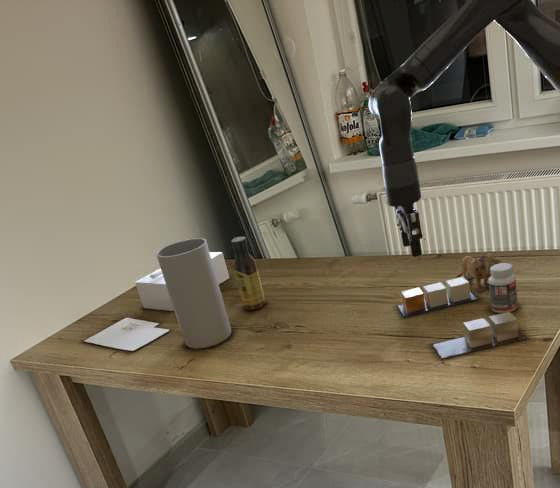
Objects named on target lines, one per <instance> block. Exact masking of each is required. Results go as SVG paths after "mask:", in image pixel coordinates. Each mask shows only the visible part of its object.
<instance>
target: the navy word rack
mask: <svg viewBox="0 0 560 488" xmlns="http://www.w3.org/2000/svg"><path fill="white" fill-rule="evenodd" d="M422 288H423V294H424V300H425V307H426V309H424V310H419V311H415V312H411V313H407V311H406V310H405V308H404V307H403V304H400V305H397V308H398V310H399V311H400V312H401V314H402V316H403V317H404V318H408V317H413V316H416V315H420V314H425V313H430V312H433V311H439V310H442V309H446V308H449V307H455V306H459V305H462V304H463V305H464V304H467V303H471V302H476V301H478V298H477V297H476V296H475V295H474V294H473V293H472V292H471V286H470V282H469V281H468V280H467V278H466V279H465V278H464V277H463V276H461V277H457V278H452V279H448V280H445V285H444V284H443V282H442V281H440V282H436V283H432V284H427V285H423V287H422Z"/></svg>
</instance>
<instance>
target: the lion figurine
mask: <svg viewBox="0 0 560 488" xmlns="http://www.w3.org/2000/svg"><path fill="white" fill-rule="evenodd" d="M494 256H495V255H494V254H493V253H486V254H484V255H482V256H480V257H479V258H476V259H474V257H473V256H469V255H466V256H464V257H463V258H462V260H461V273H460V274H458V275H457V276H456V277H457V278H460V277H464V278H465V279H466V280H467V279H469V280H470V279H472V278H473V277H474V278H475V282H476V283H475V284H476V288H477V289H476V290H477V292H483V291H484V290H483V286H484V287H485V288H489V279H490V277H491V276H492V275H491V273H490V268H491V267H492V266H494V265H496V264H500V263H502V260H500V259H497V258H496V257H494ZM481 280H483V286H482V281H481Z"/></svg>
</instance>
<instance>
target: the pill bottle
mask: <svg viewBox="0 0 560 488" xmlns="http://www.w3.org/2000/svg"><path fill="white" fill-rule="evenodd" d="M513 272H514V267H513V264H511V263H508V262H501V263H500V264H496V265H494V266H492V267H491V268H490V273H491V277H490V278H488V284H489V287H488V289H489V301H490V308H491V311H492V312H494V313H498V314H502V313H506V312H510V313H511V312H513V311H515V310H517V308H518V293H517V278H516V275H514V273H513Z"/></svg>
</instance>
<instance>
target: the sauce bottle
mask: <svg viewBox="0 0 560 488" xmlns="http://www.w3.org/2000/svg"><path fill="white" fill-rule="evenodd" d="M230 241H231V242H230V243H231V247H232V249H233V251H234V265H233V270H234V275H235V279H236V282H237V287H238V290H239V293H240V298H241V302H242V304H243V308H244V309H245V310H249V311H254V310H257V309H260V308H262V307H264V306H265V304H266V300H265V294H264V290H263V286H262V281H261V277H260V273H259V269H258V267H257V262H256V260H255V258H254V256H252V255H251V254H250V250H249V249H248V244H247V243H248V241H247V237H246V236H237V237H234V238H233V239H231V240H230Z"/></svg>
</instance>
